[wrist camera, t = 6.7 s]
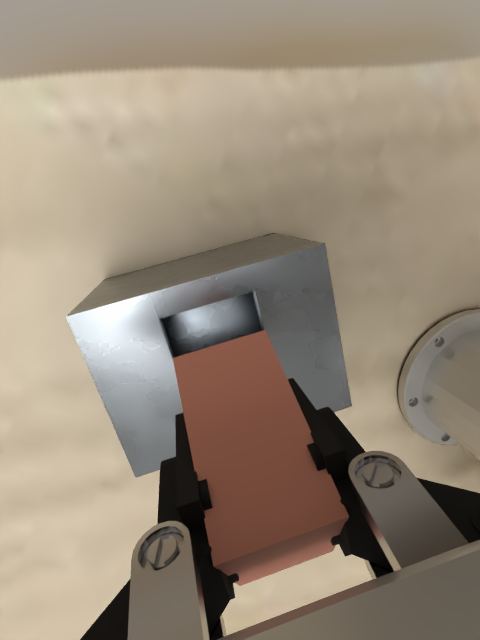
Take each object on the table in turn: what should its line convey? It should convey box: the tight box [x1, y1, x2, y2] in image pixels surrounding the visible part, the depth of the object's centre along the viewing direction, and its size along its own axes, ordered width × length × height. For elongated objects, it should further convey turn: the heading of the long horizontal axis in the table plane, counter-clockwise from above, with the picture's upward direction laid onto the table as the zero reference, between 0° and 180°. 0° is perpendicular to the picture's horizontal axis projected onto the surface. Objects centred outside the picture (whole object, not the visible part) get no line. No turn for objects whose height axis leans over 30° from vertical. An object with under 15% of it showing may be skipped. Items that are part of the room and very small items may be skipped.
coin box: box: [66, 233, 352, 477], centre depth 22 cm, size 12×9×9 cm
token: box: [173, 330, 349, 586], centre depth 11 cm, size 3×4×6 cm, turn 14°
